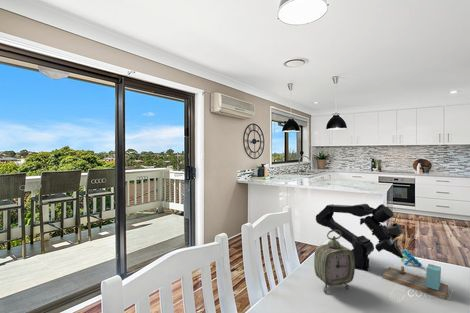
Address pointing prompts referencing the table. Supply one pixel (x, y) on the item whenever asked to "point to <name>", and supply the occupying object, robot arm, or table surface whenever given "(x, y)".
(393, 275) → the board
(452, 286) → the table surface
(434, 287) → the block
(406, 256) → the blue irregular piece
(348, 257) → the tabletop clock
